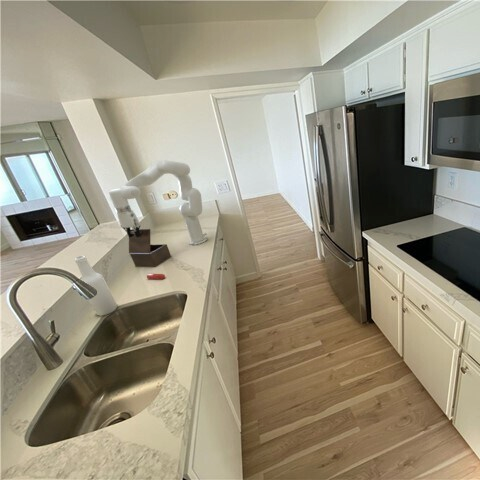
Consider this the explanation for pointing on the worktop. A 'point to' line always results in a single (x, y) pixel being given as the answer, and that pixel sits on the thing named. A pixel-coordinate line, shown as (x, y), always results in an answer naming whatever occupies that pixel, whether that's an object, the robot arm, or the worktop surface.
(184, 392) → the worktop surface
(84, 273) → the alcohol
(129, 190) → the robot arm
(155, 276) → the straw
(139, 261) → the bin
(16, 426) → the worktop surface
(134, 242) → the bin lid
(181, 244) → the worktop surface
